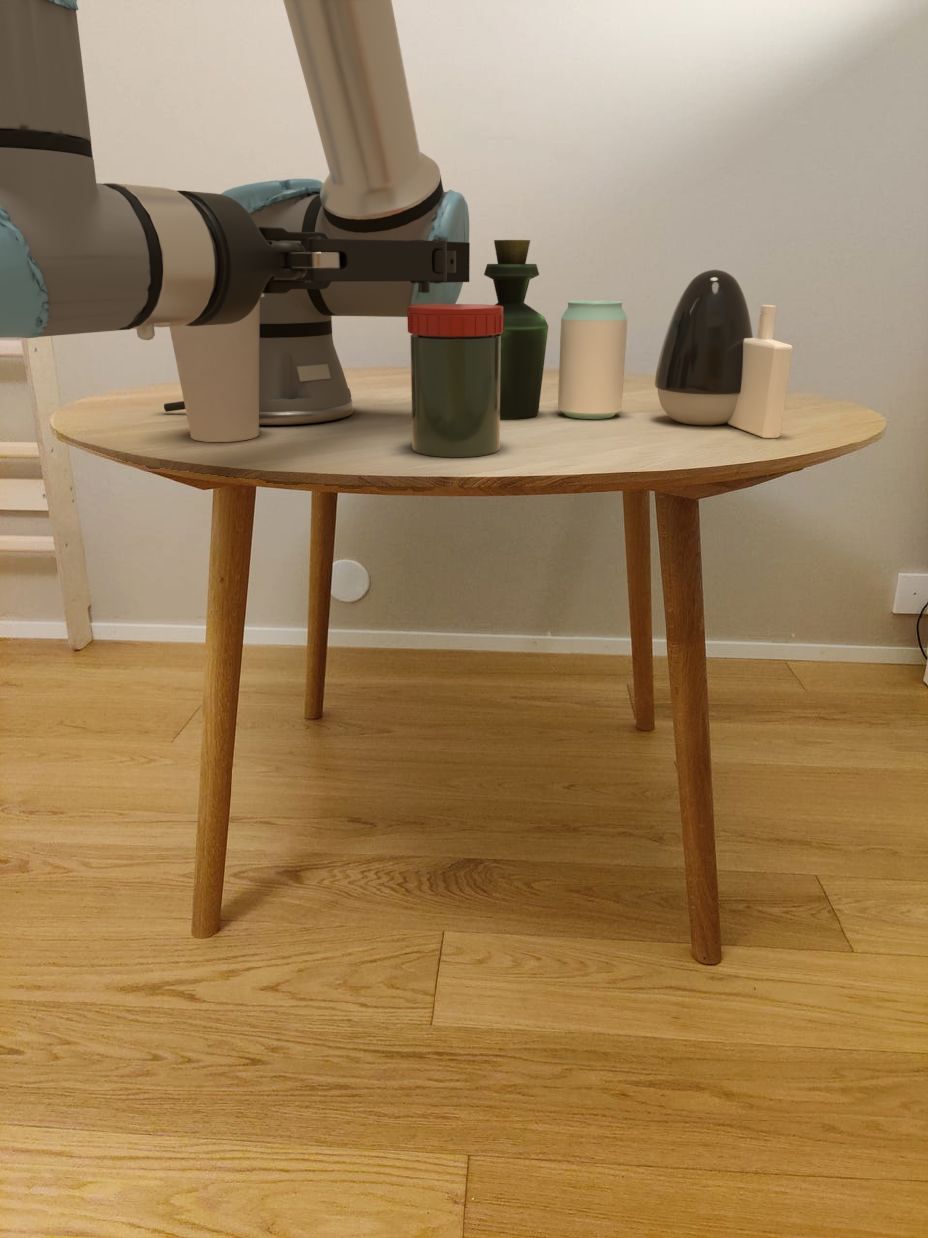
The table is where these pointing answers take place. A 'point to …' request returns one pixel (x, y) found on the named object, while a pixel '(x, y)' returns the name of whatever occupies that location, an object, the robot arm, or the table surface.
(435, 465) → the table surface
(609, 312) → the can
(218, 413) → the coffee cup
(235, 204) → the robot arm
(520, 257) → the potion bottle
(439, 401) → the jar
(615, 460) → the table surface
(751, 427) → the perfume bottle
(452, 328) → the lid
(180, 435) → the table surface
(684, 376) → the black and white egg
